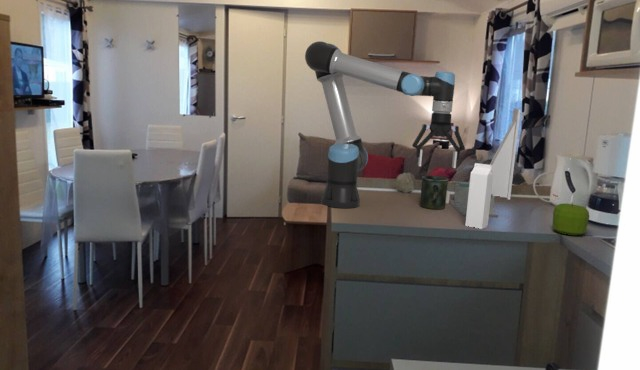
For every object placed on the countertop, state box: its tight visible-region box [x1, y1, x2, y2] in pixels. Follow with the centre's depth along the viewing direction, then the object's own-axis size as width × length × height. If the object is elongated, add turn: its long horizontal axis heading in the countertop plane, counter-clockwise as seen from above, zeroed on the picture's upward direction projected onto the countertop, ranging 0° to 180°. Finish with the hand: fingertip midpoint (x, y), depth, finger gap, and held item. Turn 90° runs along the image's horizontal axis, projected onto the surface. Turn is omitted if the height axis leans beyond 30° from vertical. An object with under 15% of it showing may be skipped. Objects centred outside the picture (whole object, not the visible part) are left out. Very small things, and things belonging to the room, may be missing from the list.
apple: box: [551, 203, 590, 236], centre depth 181 cm, size 11×11×11 cm
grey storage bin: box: [448, 181, 499, 218], centre depth 211 cm, size 13×24×9 cm, turn 0°
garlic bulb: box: [393, 172, 416, 194], centre depth 241 cm, size 9×8×10 cm
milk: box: [465, 162, 493, 230], centre depth 183 cm, size 6×6×22 cm
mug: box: [419, 174, 450, 210], centre depth 210 cm, size 11×15×12 cm
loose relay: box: [446, 190, 451, 204], centre depth 223 cm, size 5×4×5 cm
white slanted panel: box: [489, 108, 522, 201], centre depth 244 cm, size 20×14×40 cm
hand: (436, 166), depth 208 cm, fingers open, 13 cm apart
